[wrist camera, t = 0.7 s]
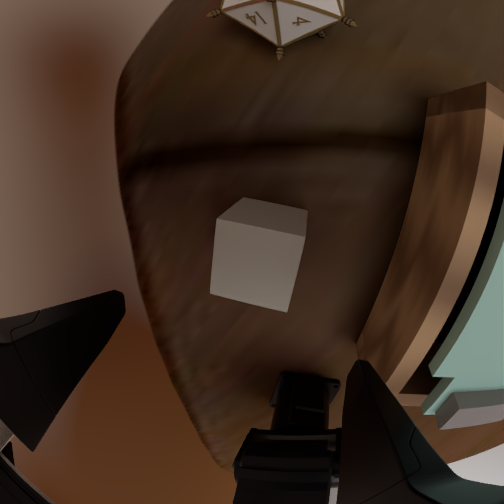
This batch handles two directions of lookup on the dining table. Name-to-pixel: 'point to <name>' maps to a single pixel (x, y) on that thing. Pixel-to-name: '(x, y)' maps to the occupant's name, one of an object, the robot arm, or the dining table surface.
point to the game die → (285, 18)
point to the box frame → (436, 238)
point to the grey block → (258, 252)
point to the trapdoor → (474, 351)
